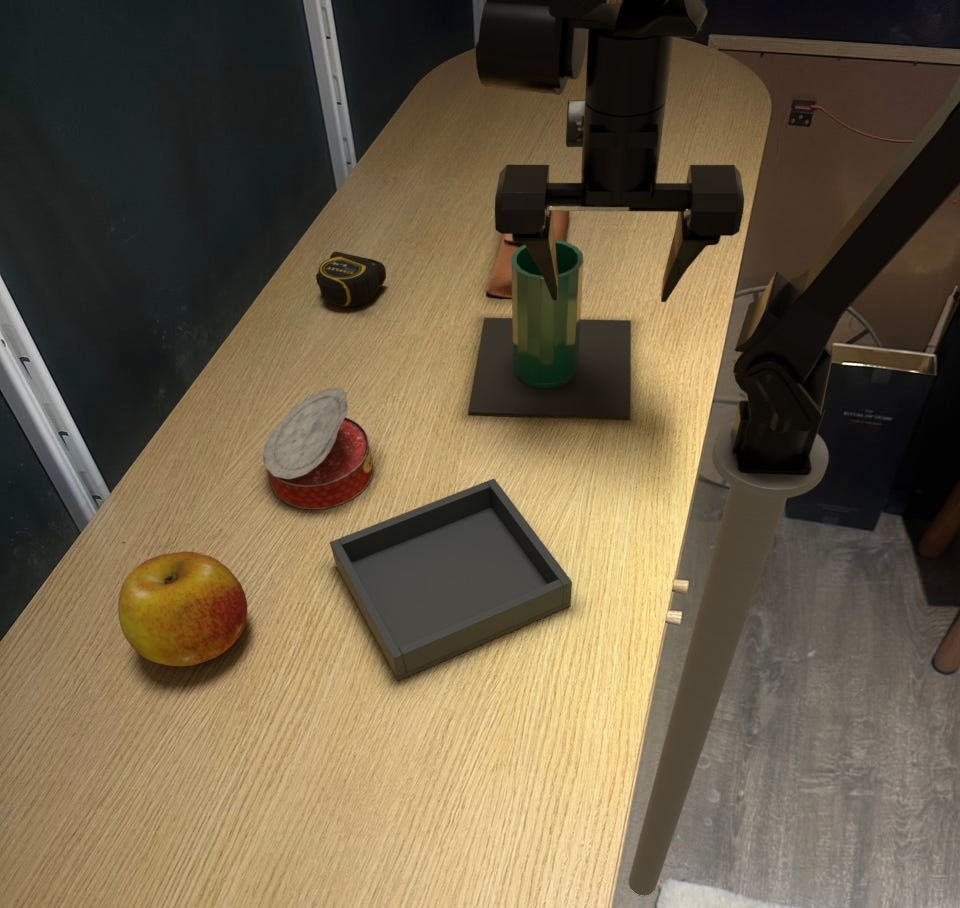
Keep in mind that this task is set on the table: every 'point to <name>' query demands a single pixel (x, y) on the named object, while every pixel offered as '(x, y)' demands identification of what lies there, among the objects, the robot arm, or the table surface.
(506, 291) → the sunglasses case
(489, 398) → the mat
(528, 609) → the tray
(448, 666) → the table surface
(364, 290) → the tape measure
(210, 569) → the fruit
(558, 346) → the cup
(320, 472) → the canned food
